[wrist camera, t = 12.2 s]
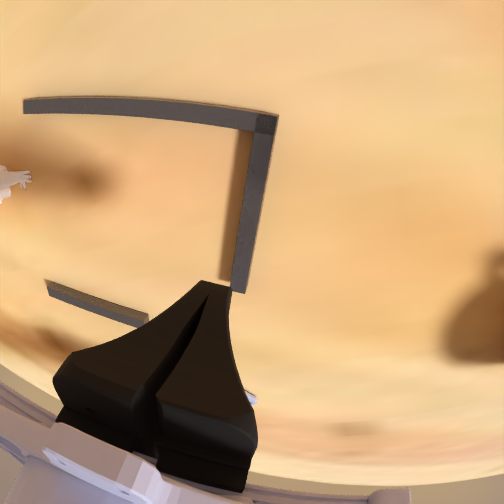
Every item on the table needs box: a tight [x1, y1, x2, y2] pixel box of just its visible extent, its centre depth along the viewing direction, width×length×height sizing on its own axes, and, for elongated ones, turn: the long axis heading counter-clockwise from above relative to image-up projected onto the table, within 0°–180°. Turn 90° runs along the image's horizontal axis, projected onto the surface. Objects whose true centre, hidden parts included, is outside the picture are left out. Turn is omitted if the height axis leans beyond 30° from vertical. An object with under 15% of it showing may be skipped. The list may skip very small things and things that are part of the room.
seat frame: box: [24, 96, 279, 328], centre depth 24 cm, size 20×21×1 cm
